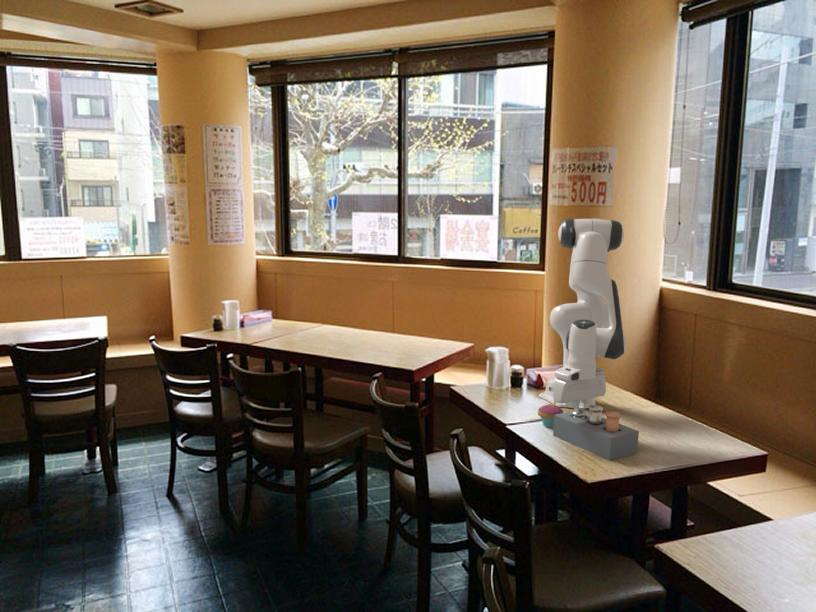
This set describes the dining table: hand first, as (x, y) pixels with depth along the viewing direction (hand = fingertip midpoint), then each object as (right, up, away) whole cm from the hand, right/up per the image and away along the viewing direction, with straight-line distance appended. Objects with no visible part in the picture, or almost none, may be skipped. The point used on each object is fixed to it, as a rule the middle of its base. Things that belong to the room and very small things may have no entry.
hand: (579, 412), depth 207 cm
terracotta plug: (+7, -6, -11) cm, 15 cm away
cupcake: (-7, -7, +12) cm, 16 cm away
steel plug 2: (+3, -5, -5) cm, 8 cm away
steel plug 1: (0, -8, +1) cm, 8 cm away
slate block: (+3, -9, -5) cm, 11 cm away
